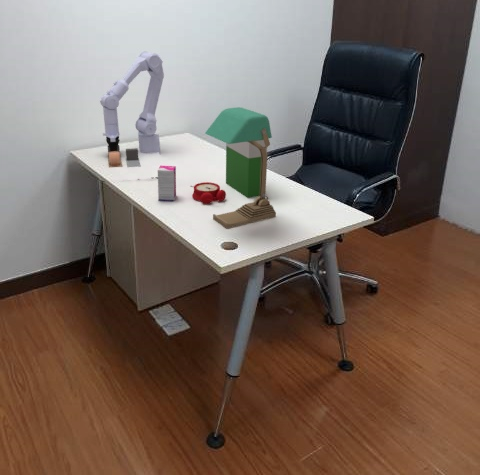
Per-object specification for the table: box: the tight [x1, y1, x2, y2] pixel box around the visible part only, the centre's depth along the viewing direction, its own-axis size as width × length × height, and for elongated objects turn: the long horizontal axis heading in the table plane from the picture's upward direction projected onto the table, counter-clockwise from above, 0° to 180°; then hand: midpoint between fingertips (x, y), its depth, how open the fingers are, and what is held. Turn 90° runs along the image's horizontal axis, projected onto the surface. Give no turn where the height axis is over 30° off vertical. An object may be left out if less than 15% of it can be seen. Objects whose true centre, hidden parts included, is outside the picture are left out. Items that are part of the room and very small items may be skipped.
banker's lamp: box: [204, 107, 277, 229], centre depth 155 cm, size 16×21×35 cm
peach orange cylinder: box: [107, 144, 123, 168], centre depth 211 cm, size 6×18×6 cm, turn 15°
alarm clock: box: [189, 181, 227, 205], centre depth 177 cm, size 11×6×15 cm
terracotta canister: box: [109, 151, 121, 166], centre depth 207 cm, size 4×4×5 cm
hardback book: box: [225, 139, 268, 199], centre depth 183 cm, size 18×7×24 cm, turn 28°
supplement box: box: [157, 165, 177, 202], centre depth 175 cm, size 6×6×12 cm
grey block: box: [125, 148, 141, 168], centre depth 210 cm, size 6×12×6 cm, turn 15°
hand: (114, 153), depth 218 cm, fingers open, 3 cm apart
